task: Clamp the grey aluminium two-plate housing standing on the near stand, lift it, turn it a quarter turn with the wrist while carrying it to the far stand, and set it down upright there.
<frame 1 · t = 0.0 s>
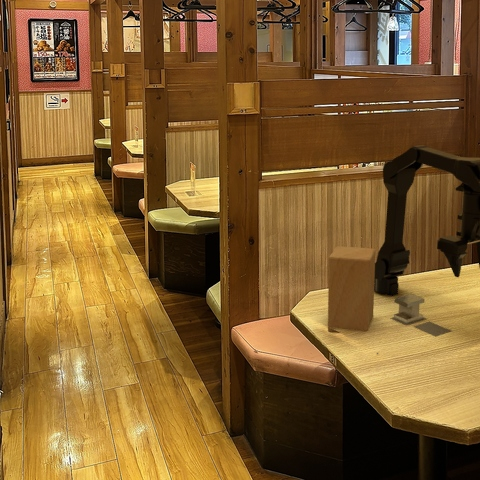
hand: (469, 273, 164), 15 cm above the table, fingers open, 9 cm apart
housing: (408, 318, 171), point 1 cm above the table, touching stand a
stand b: (432, 334, 165), on the table
wooden block: (350, 327, 170), on the table
stand a: (408, 323, 171), on the table
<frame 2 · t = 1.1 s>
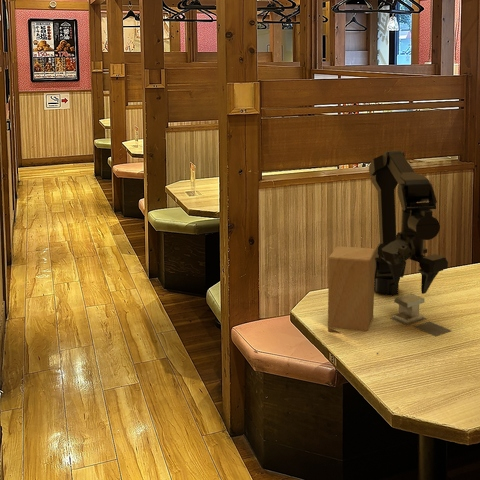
hand: (409, 288, 169), 10 cm above the table, fingers open, 9 cm apart
nothing on the table moved.
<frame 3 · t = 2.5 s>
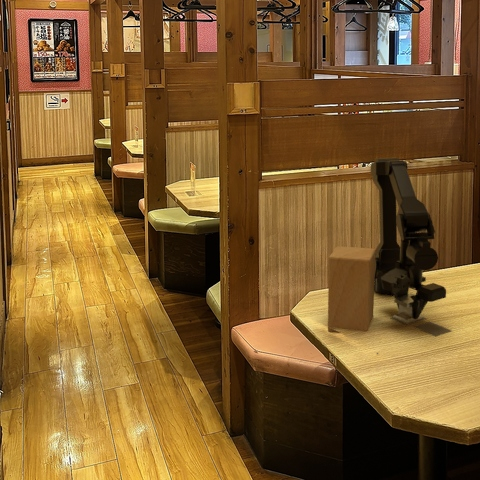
hand: (408, 315, 171), 2 cm above the table, fingers closed on housing, 4 cm apart
housing: (408, 318, 171), point 1 cm above the table, touching gripper, stand a
everything else where it was.
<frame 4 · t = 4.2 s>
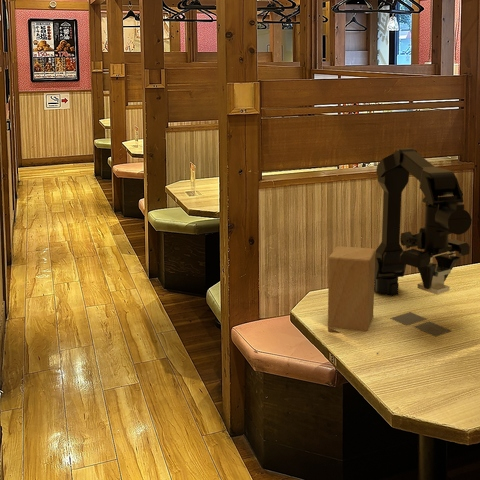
hand: (433, 286, 161), 12 cm above the table, fingers closed on housing, 4 cm apart
housing: (433, 289, 162), point 12 cm above the table, touching gripper
everything else where it was.
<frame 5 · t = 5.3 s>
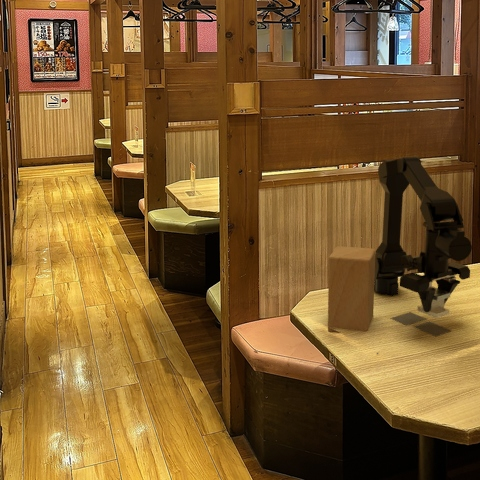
hand: (433, 309, 163), 7 cm above the table, fingers closed on housing, 4 cm apart
housing: (433, 312, 163), point 6 cm above the table, touching gripper
everything else where it was.
when the fingers open (3 cm above the table, at t = 6.3 s): housing stays where it is, resting on stand b.
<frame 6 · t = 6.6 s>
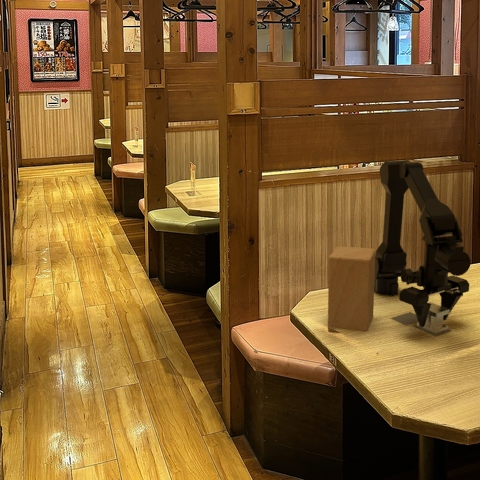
hand: (432, 323, 164), 3 cm above the table, fingers open, 7 cm apart
housing: (432, 328, 164), point 1 cm above the table, touching stand b
everything else where it was.
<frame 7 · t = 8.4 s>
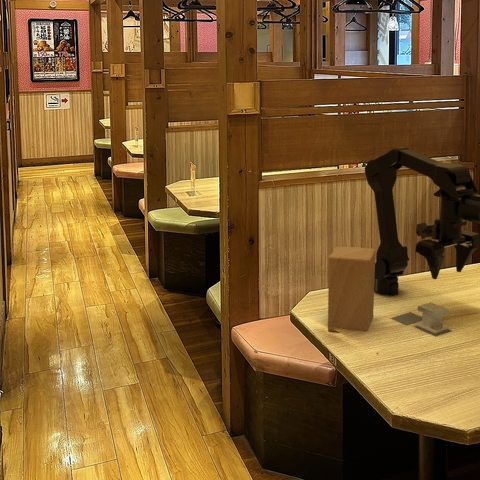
hand: (446, 275, 170), 12 cm above the table, fingers open, 9 cm apart
nothing on the table moved.
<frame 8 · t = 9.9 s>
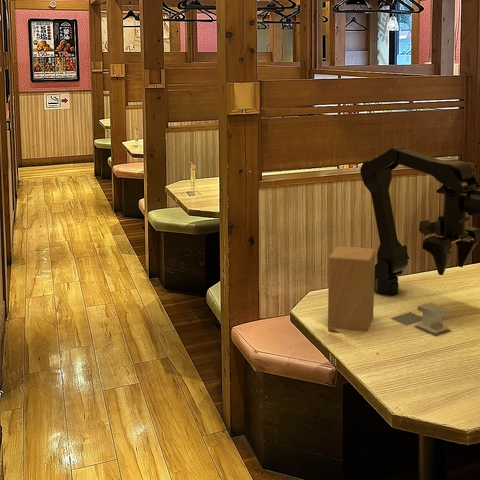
hand: (450, 270, 172), 13 cm above the table, fingers open, 9 cm apart
nothing on the table moved.
at the end: housing 0.1 cm off-centre on the stand b, point 1.5 cm above the stand b's base; housing tilted 0°; the gripper is holding nothing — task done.
